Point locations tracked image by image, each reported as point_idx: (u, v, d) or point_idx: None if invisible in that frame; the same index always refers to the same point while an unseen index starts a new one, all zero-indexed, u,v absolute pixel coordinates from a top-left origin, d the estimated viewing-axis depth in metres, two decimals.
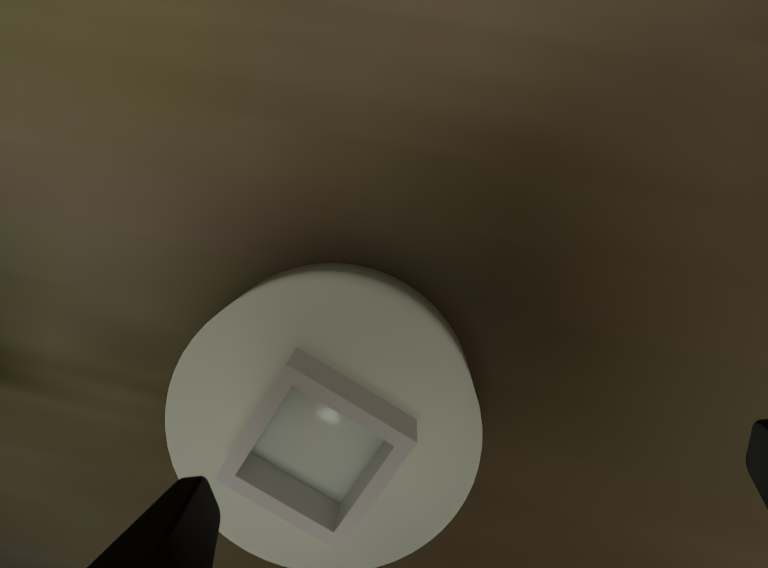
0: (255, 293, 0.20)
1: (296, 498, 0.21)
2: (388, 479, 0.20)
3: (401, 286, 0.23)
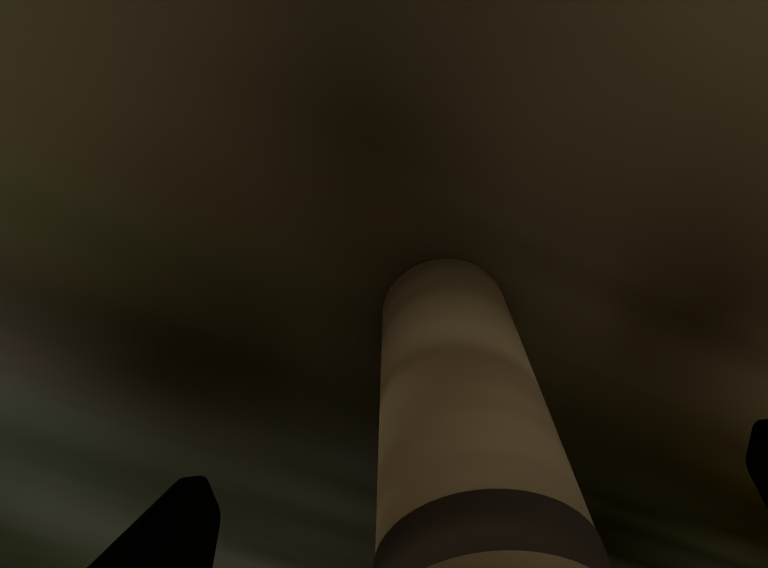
0: None
1: None
2: None
3: None
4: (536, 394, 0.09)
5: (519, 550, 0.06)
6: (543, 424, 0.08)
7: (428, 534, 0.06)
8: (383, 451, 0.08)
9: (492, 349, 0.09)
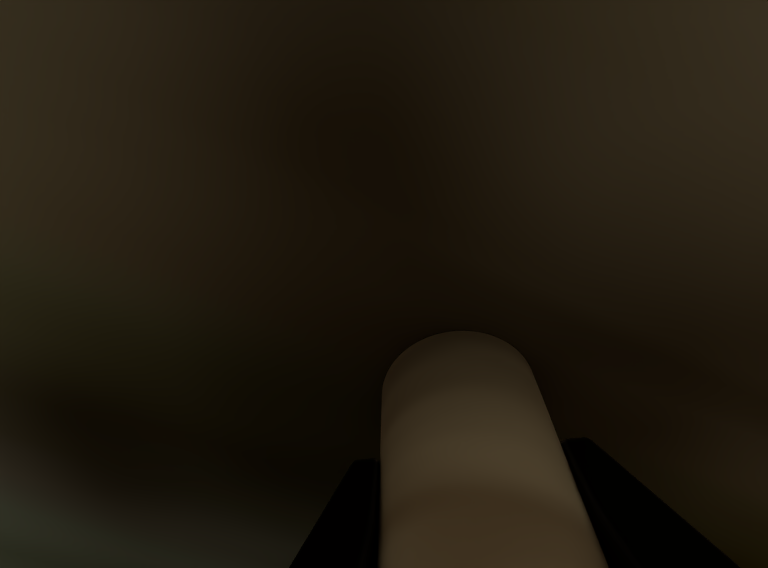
0: None
1: None
2: None
3: None
4: None
5: None
6: None
7: None
8: None
9: (535, 493, 0.06)
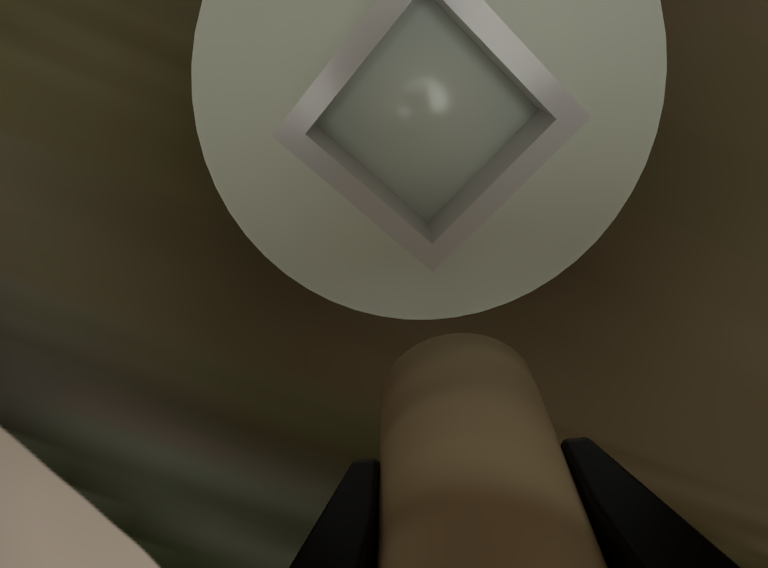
0: None
1: (382, 193, 0.14)
2: (531, 172, 0.14)
3: None
4: None
5: None
6: None
7: None
8: None
9: (535, 497, 0.06)
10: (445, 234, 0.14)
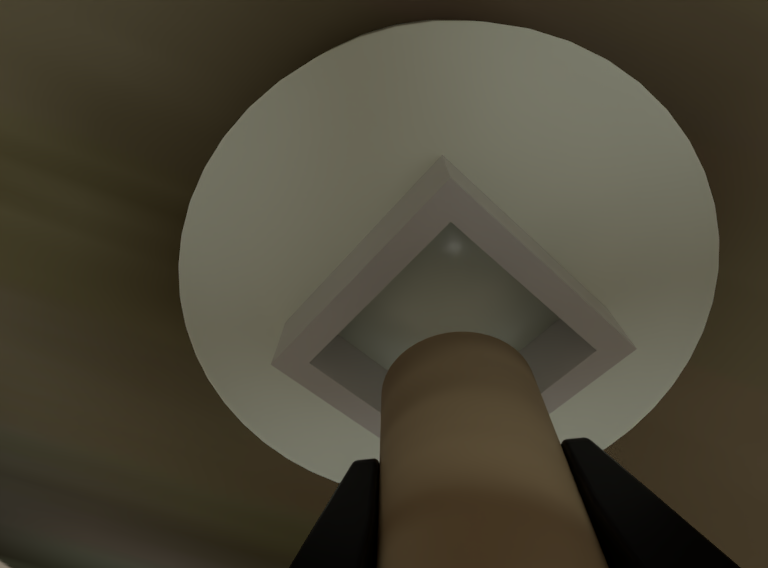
0: (388, 32, 0.10)
1: None
2: (565, 398, 0.12)
3: None
4: None
5: None
6: None
7: None
8: None
9: (535, 496, 0.06)
10: None
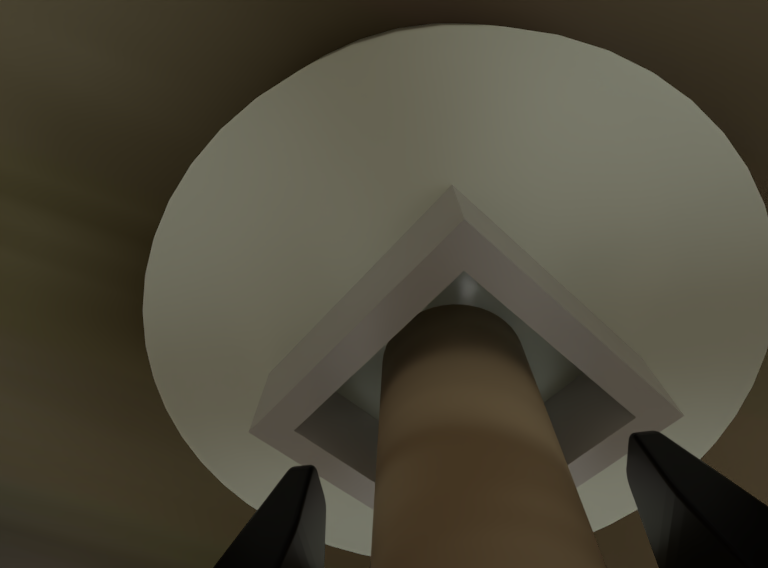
0: (388, 39, 0.08)
1: None
2: (597, 469, 0.10)
3: None
4: (571, 495, 0.07)
5: None
6: (584, 545, 0.06)
7: None
8: None
9: (514, 432, 0.07)
10: None
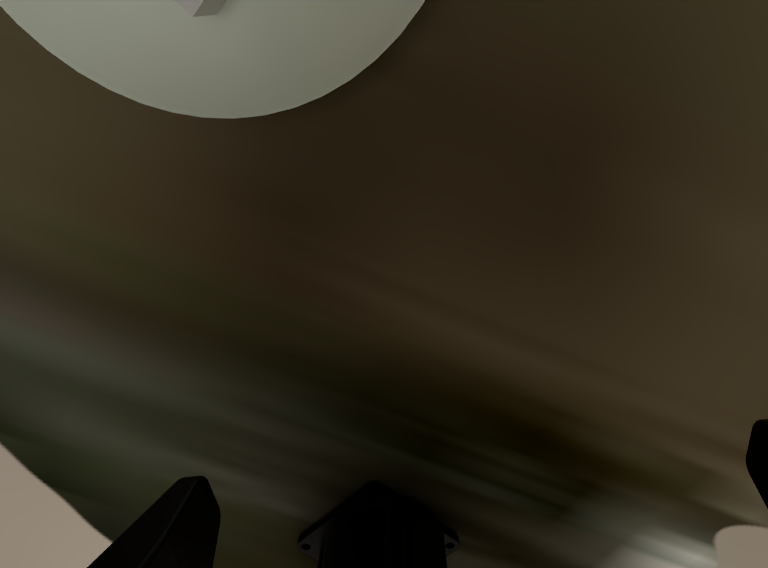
0: None
1: None
2: None
3: None
4: None
5: None
6: None
7: None
8: None
9: None
10: None
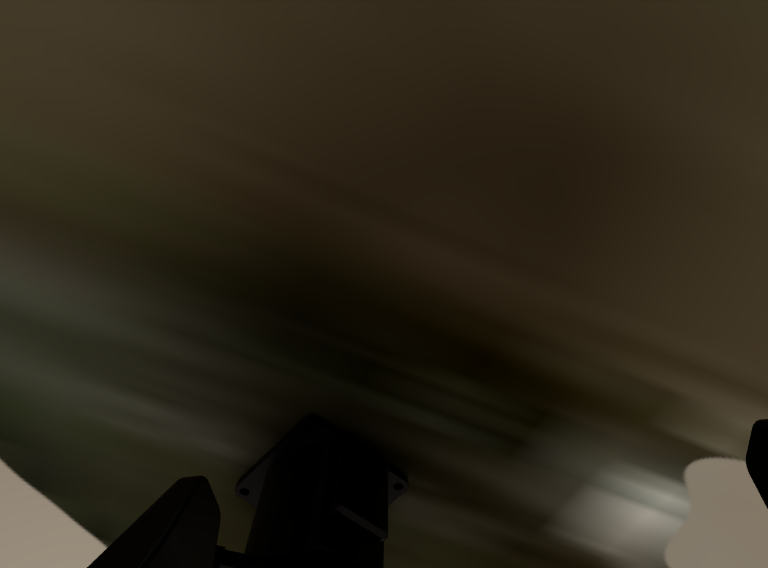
0: None
1: None
2: None
3: None
4: None
5: None
6: None
7: None
8: None
9: None
10: None
